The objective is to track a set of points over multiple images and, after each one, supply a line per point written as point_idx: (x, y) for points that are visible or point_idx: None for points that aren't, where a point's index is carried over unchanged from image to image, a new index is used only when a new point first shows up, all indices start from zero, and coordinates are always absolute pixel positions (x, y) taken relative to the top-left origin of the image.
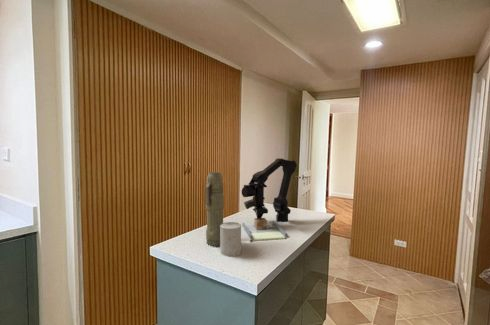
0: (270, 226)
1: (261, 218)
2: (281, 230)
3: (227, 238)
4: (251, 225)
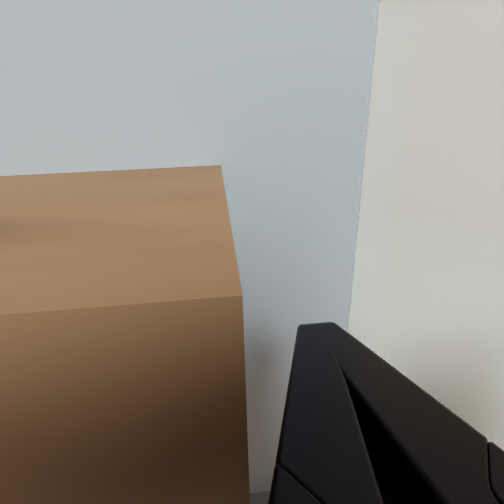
0: None
1: None
2: None
3: None
4: (360, 108)
